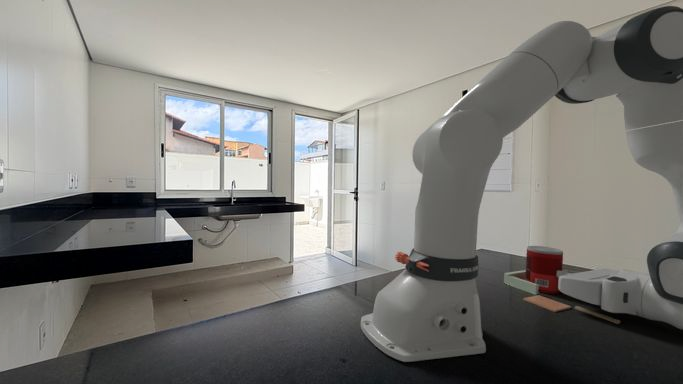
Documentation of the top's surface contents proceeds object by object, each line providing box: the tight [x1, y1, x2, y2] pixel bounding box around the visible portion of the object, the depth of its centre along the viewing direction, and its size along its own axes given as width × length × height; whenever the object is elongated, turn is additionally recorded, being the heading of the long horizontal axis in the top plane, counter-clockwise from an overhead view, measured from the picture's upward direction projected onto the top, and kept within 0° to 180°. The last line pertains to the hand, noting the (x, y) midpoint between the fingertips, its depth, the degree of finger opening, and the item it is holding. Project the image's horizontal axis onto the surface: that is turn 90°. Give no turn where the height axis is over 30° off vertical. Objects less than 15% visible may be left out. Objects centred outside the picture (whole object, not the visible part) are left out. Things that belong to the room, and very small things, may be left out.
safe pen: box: [503, 269, 539, 296], centre depth 78 cm, size 13×9×3 cm
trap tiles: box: [522, 294, 572, 313], centre depth 72 cm, size 26×11×1 cm, turn 114°
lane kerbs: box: [574, 305, 621, 325], centre depth 65 cm, size 13×12×1 cm
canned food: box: [525, 245, 564, 295], centre depth 76 cm, size 8×8×11 cm
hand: (559, 273), depth 72 cm, fingers closed, pressing on canned food
